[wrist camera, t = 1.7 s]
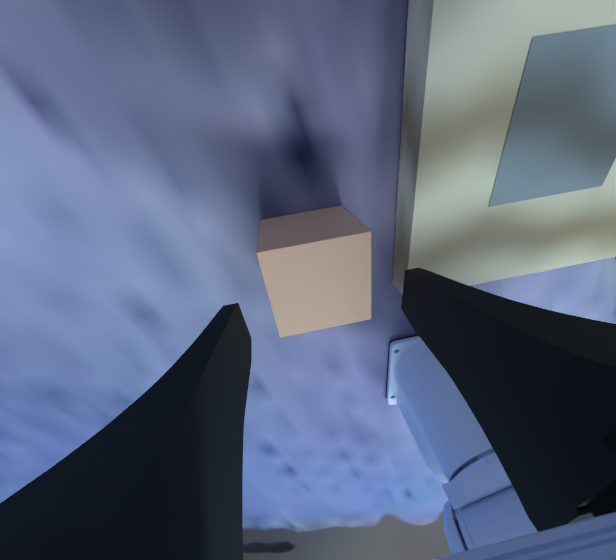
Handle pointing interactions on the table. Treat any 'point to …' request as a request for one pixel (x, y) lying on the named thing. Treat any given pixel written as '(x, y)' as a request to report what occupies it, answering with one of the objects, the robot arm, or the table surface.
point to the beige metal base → (506, 138)
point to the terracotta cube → (316, 269)
